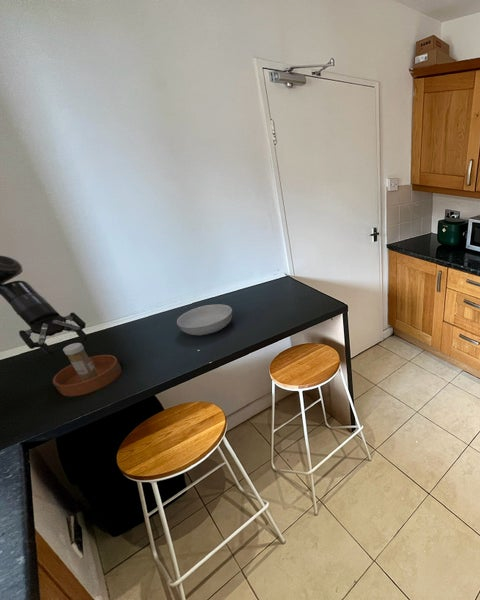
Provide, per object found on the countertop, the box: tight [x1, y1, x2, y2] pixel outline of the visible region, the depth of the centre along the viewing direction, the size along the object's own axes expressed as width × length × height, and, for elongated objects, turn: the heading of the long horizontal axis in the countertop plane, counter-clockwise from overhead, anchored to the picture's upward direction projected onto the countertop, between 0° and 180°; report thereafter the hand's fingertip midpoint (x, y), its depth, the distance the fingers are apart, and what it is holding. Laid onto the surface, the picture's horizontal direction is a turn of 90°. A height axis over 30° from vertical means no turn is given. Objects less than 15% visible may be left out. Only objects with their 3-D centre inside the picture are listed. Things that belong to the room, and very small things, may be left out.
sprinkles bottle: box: [62, 342, 99, 381], centre depth 105 cm, size 5×5×14 cm
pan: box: [52, 354, 123, 397], centre depth 107 cm, size 16×16×4 cm
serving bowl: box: [176, 303, 233, 336], centre depth 136 cm, size 21×21×7 cm
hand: (69, 346), depth 104 cm, fingers open, 8 cm apart
